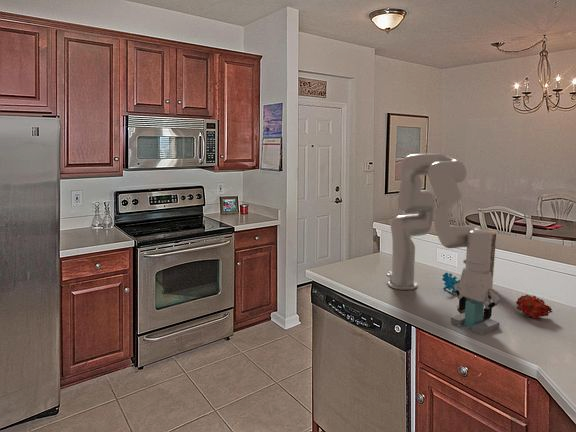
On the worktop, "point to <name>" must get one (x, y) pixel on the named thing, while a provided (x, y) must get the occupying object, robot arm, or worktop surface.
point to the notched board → (478, 328)
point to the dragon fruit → (533, 306)
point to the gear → (450, 281)
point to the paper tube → (492, 252)
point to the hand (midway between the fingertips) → (474, 314)
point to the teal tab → (473, 313)
